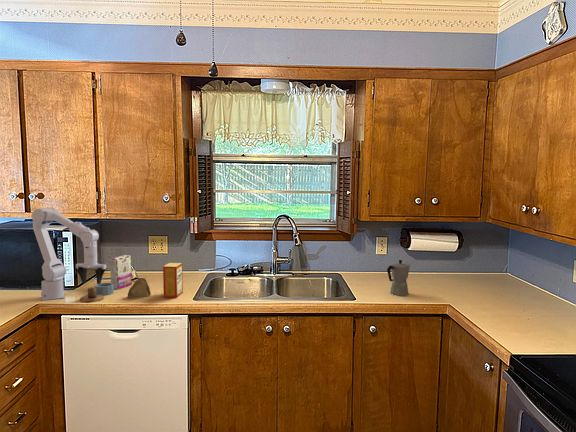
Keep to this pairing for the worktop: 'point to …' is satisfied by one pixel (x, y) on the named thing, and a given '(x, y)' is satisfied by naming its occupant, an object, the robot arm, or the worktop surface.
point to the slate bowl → (104, 288)
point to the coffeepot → (399, 278)
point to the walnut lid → (91, 296)
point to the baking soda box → (172, 280)
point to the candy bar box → (121, 271)
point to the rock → (139, 289)
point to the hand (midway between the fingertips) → (91, 283)
